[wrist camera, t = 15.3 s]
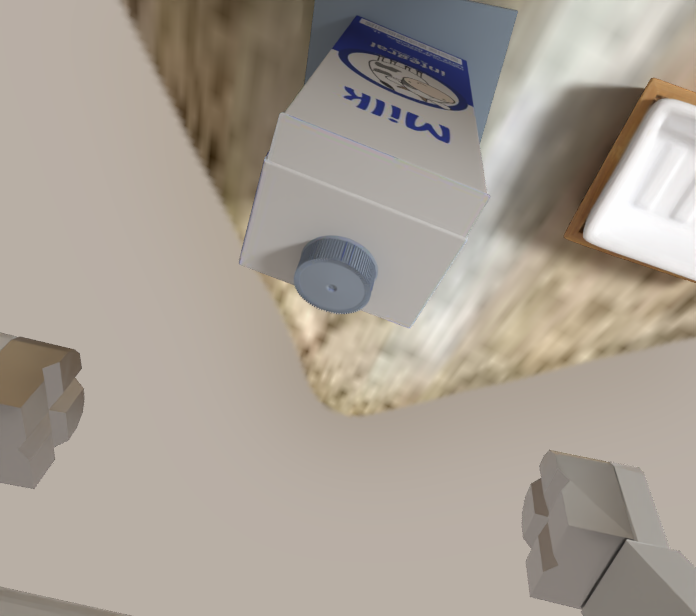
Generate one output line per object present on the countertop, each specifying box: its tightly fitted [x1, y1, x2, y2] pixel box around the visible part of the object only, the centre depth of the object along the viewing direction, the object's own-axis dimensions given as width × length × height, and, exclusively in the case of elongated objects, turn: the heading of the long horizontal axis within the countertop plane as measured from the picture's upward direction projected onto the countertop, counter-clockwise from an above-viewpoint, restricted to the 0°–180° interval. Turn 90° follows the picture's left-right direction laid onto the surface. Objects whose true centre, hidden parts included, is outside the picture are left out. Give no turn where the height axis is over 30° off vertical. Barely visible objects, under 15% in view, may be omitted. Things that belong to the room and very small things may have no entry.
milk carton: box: [239, 15, 490, 328], centre depth 30 cm, size 7×7×20 cm
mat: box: [304, 0, 518, 144], centre depth 38 cm, size 11×11×1 cm
